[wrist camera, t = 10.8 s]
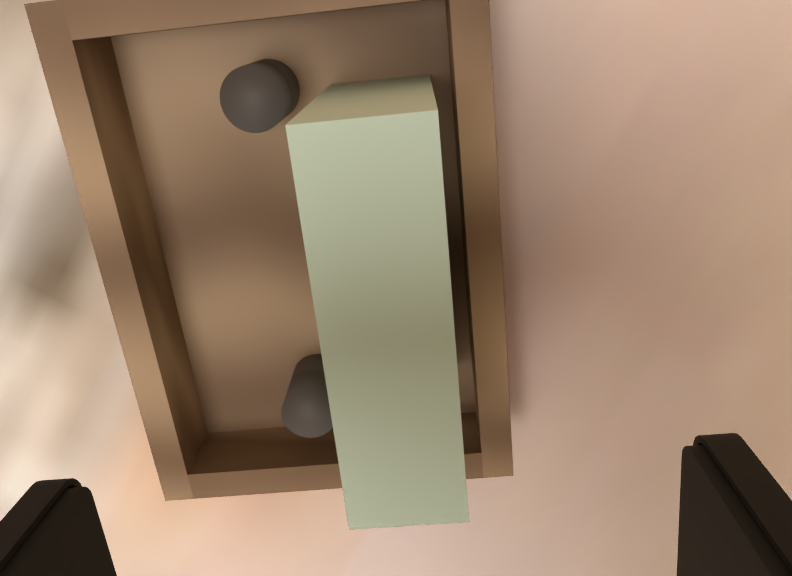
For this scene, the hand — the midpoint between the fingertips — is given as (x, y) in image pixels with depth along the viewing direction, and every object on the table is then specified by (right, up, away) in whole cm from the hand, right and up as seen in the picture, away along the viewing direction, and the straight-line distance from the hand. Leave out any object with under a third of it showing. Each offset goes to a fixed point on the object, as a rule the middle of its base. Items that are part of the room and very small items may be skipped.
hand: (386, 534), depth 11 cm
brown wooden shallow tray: (-3, +6, +13) cm, 14 cm away
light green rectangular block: (0, +6, +12) cm, 13 cm away
